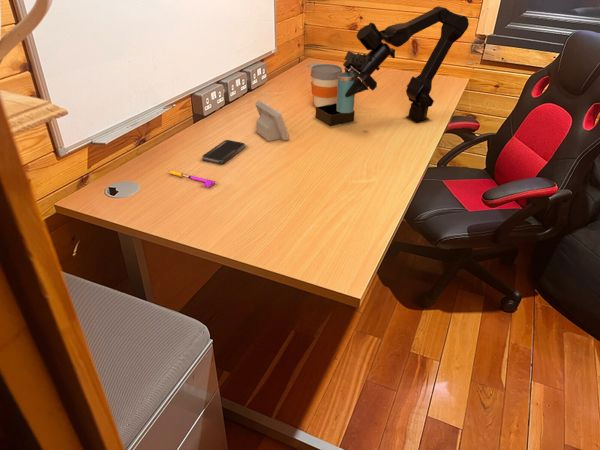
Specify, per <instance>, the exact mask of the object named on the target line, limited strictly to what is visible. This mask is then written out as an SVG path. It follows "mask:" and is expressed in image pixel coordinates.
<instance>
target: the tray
mask: <svg viewBox="0 0 600 450" xmlns="http://www.w3.org/2000/svg"><path fill="white" fill-rule="evenodd" d="M336 106H337V103H335V104H330V105H325V106H320V107H316V106H315V119H317V120H318V121H320V122H321V123H324V124H325V125H327V126H329V127H335V126H338V125H343V124H348V123H352V122H354V121H355V114H356V113H355V112H356V110H354V111H353V112H351V113H340V112H338V111H337V110H336Z"/></svg>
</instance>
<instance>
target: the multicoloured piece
mask: <svg viewBox="0 0 600 450" xmlns="http://www.w3.org/2000/svg"><path fill="white" fill-rule="evenodd" d="M169 174H171V175H174V176H177V177H181V178H183V177H187V178H188V179H190V180H194V181H198V182H201V183H204V184H203V186H202V187H204V188H208V189H210V187H211V186H212V187H213V186H214V185H215V184H216V181H215V180H212V179H208V178H207V179H206V178H203V177H198V176H194V175H185V174H184V172H178V171H174V170H170V171H169Z"/></svg>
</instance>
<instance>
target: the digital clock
mask: <svg viewBox="0 0 600 450" xmlns="http://www.w3.org/2000/svg"><path fill="white" fill-rule="evenodd" d="M255 108H256V110H257V113H258V115H259V118H257V119H256V122H255V127H256V128H255V129H256V133H257V134H258V135H259V136H261V137H262V138H263V139H265V140H266V141H268V142H271V141H276V140H282V141H289V140H290V134H289V131H288V129H287V125H286V124H285V121H284V117H283V115H282V113H281V112H280V111H278V110H277V109H275V108H274V107H272V106H271V105H269V104H267V103H266V102H264V101H263V100H256V101H255Z"/></svg>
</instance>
